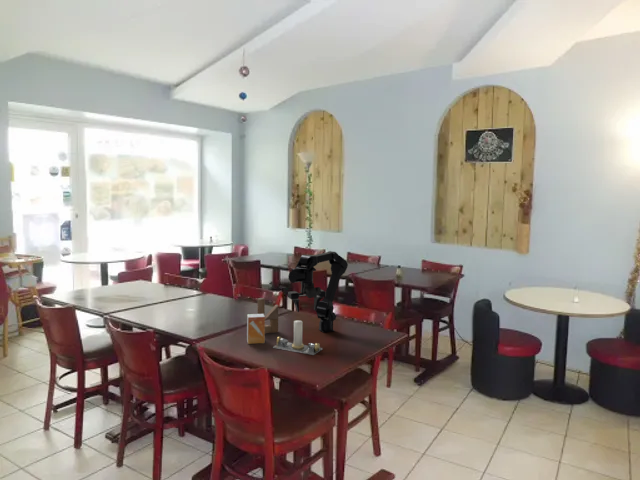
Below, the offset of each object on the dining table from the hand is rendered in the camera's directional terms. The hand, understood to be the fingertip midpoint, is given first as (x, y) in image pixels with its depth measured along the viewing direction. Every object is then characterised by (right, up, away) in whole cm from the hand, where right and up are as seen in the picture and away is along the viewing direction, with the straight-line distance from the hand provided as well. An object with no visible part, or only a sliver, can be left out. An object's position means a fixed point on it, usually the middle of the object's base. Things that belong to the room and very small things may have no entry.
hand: (306, 311), depth 235 cm
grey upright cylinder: (-4, -14, -18) cm, 23 cm away
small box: (-24, -14, -8) cm, 29 cm away
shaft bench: (-4, -15, -18) cm, 23 cm away
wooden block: (-21, -12, +7) cm, 25 cm away
